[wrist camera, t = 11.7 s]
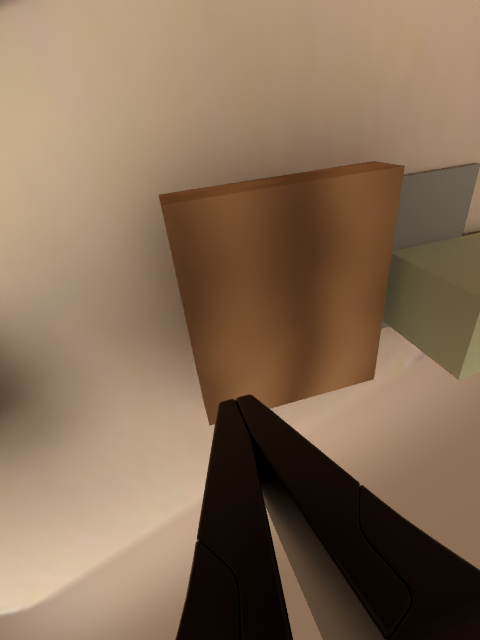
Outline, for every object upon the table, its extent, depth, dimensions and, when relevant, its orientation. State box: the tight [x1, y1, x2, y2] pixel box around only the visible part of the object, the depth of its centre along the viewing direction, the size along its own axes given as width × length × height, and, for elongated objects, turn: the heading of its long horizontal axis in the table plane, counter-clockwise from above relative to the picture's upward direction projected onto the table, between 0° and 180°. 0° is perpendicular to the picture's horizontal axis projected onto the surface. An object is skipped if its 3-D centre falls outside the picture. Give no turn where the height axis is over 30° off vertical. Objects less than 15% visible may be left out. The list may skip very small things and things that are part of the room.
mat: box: [381, 163, 480, 328], centre depth 22 cm, size 7×10×1 cm, turn 7°
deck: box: [159, 161, 404, 425], centre depth 20 cm, size 12×14×2 cm
